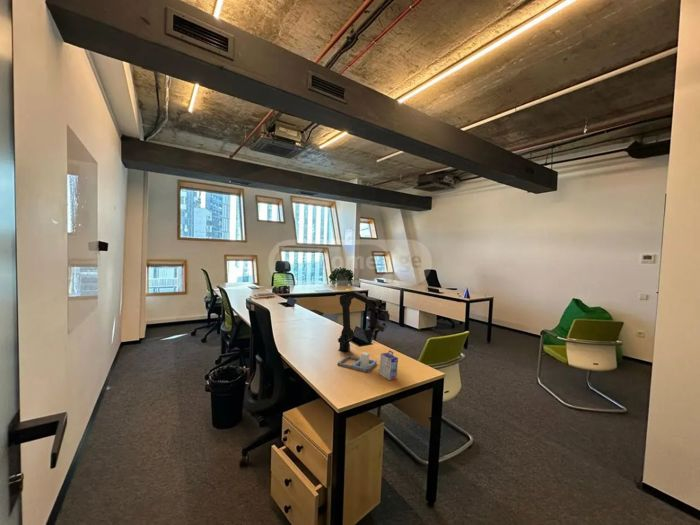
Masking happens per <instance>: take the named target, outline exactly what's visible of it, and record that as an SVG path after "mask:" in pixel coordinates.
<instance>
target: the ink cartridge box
mask: <svg viewBox="0 0 700 525" xmlns="http://www.w3.org/2000/svg"><path fill="white" fill-rule="evenodd" d="M379 360H380V361H379V370H378V371H379V373H378V374H379V375H380V376H381V377H383V378H385V379H387V380H389V381H393V380H397V379H398V378H397V376H398V364H399V363H398V362H399V357H397V356H395V355H394V352H393V351H392V350H390V349H389V351H388V352H383V353H380V359H379Z"/></svg>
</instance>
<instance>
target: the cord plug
mask: <svg viewBox="0 0 700 525" xmlns="http://www.w3.org/2000/svg"><path fill="white" fill-rule="evenodd" d="M360 358H361V363H360V364H359V366H360V367H364V368H368V367H369V366H370V363H369V359H370V353H369V352H365V351H363V352H362V353H361V354H360Z"/></svg>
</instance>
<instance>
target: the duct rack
mask: <svg viewBox="0 0 700 525" xmlns="http://www.w3.org/2000/svg"><path fill="white" fill-rule="evenodd" d="M348 359H351V360H355V362H354V363H353V364H352V365H351V364H347V363H344V362H346V361H347V360H348ZM377 362H378V361H377V360H376V359H375V360H374V359H371V358H369V366H368V367H367V368H364V367H360V363H361V357H359V356H354V355H353V356H352V355H350V354H349V355H346V356H345V357H344V358H343V359H341V360H340V361H338V362H337V366H340V367H343V368H348V369H352V370H356V371H360V372H364V373H369V372H370V371H371V370H372V369H373V367H375V366H376V365H377Z"/></svg>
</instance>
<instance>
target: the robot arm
mask: <svg viewBox="0 0 700 525" xmlns="http://www.w3.org/2000/svg"><path fill="white" fill-rule="evenodd" d="M338 299H339V305H340V306H341V307H342V308H341V309H342V330H341V332H340V337H339V338H337V342H338V343H339V349H338V351H339V352H343V353H348V352H349V351H350V350H351V343H350V342H351V341H352V340H353V338H354V335H355V334H354V329H352V328H351V316H350V315H351V314H350V306H351V304H352V300H353V299H356V300H358V301H360V302H362V303H364V304H365V305H366V306H367V307H368V308H367V309H366V311H367V312H369V317H368V318H369V319H368V320H367V322H368V325H367V328H365V329H363V335H364V336H365V338H366V340H367V343H368V344H369V345H371V343H372V340H374V341H376V340H377V338H378V336H379V332H381V333H384V332H386V329H387V327H388V326H387V322H388V321H389V320H390V318H391V317H390V313H389V310H384V308H383V305H382V304H381V300H380V299H378V298H375V297H369V296H367V295H365V294H362V293H360V292H359V291H357V290H351V291H349V292H348V293H346V294H342V295H340V296H339V298H338ZM380 321H382V322H383V323H381V322H380Z"/></svg>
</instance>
